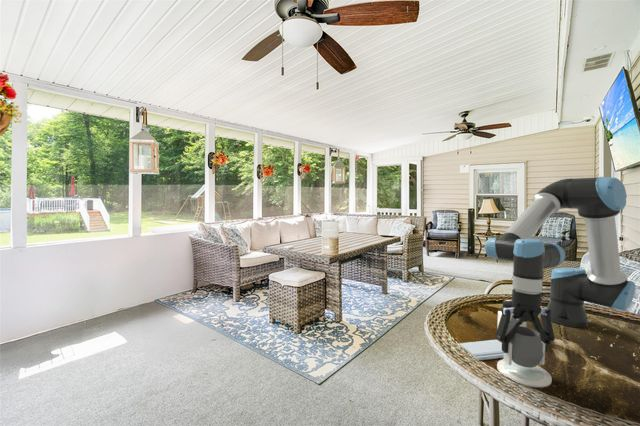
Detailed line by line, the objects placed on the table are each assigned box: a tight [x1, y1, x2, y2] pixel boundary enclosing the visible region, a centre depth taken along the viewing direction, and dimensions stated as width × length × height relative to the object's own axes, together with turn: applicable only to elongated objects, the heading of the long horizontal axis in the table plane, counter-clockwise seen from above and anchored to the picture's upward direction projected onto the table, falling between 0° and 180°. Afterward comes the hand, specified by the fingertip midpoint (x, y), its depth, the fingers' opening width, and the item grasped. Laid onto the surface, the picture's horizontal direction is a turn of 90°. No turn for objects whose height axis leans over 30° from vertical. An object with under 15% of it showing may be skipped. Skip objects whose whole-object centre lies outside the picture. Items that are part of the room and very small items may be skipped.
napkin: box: [458, 339, 504, 361], centre depth 109 cm, size 16×10×1 cm, turn 102°
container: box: [496, 299, 528, 329], centre depth 122 cm, size 8×8×13 cm
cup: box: [510, 326, 543, 368], centre depth 95 cm, size 10×9×10 cm
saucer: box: [496, 358, 553, 388], centre depth 95 cm, size 14×14×1 cm
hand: (523, 362), depth 95 cm, fingers closed on cup, 9 cm apart
